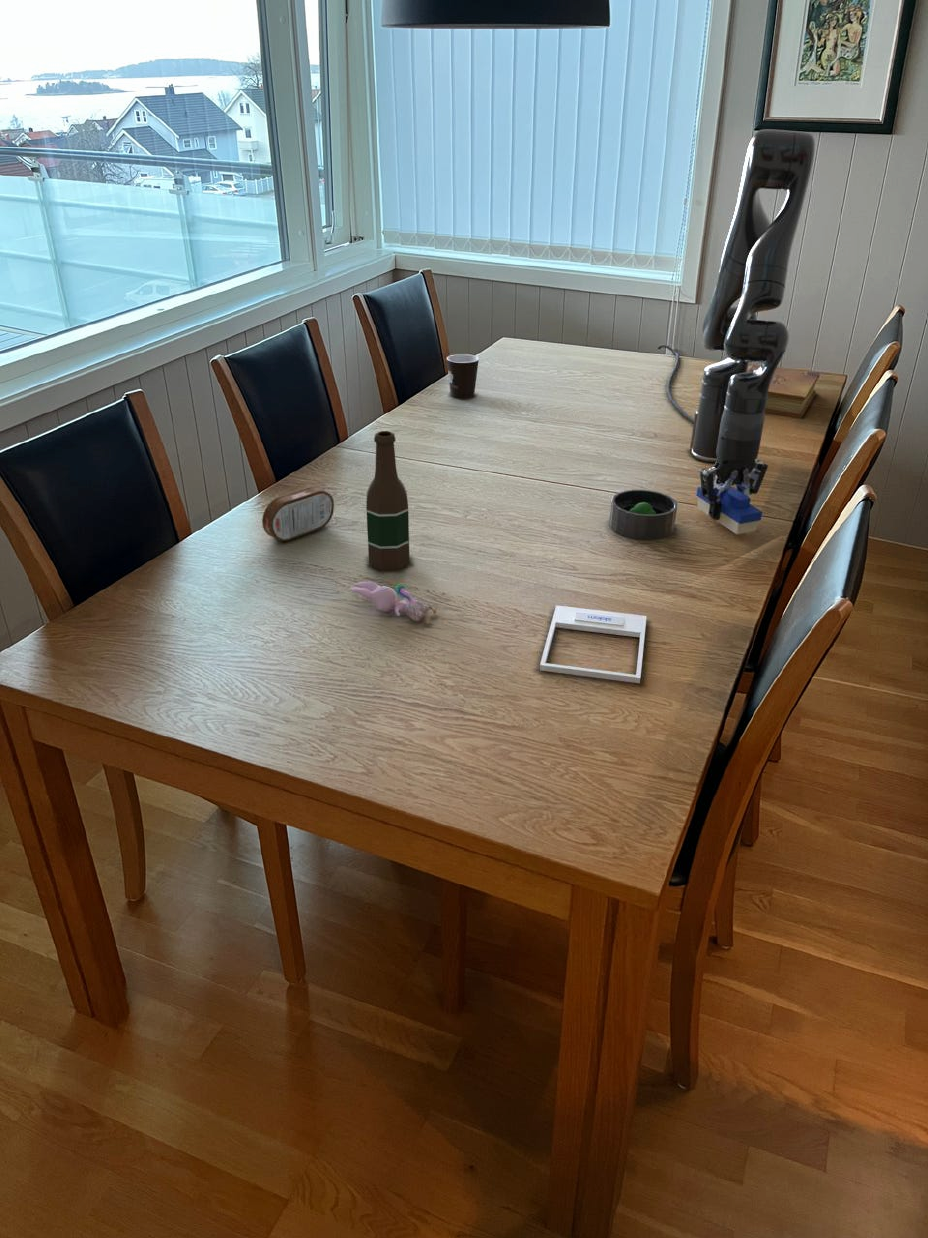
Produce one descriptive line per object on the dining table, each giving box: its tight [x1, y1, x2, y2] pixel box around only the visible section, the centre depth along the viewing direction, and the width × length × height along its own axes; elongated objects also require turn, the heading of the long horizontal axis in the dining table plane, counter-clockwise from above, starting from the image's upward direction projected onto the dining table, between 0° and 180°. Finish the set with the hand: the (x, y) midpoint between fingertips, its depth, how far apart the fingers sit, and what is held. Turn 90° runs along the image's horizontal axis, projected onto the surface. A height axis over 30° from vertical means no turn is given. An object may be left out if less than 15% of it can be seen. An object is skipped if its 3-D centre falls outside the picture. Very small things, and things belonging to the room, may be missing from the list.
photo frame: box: [539, 604, 647, 684], centre depth 141 cm, size 15×1×18 cm
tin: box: [261, 485, 335, 542], centre depth 172 cm, size 15×3×8 cm, turn 134°
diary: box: [747, 364, 821, 418], centre depth 247 cm, size 23×19×6 cm
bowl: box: [608, 489, 678, 541], centre depth 177 cm, size 12×12×6 cm
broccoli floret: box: [628, 502, 657, 515], centre depth 176 cm, size 5×6×5 cm
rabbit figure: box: [349, 580, 437, 626], centre depth 148 cm, size 6×6×15 cm
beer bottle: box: [365, 430, 410, 572], centre depth 159 cm, size 8×8×24 cm
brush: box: [696, 483, 763, 535], centre depth 176 cm, size 14×5×6 cm, turn 22°
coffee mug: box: [446, 353, 480, 400], centre depth 249 cm, size 12×9×10 cm
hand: (726, 516), depth 177 cm, fingers closed on brush, 4 cm apart
